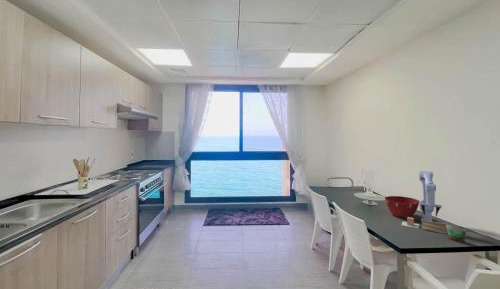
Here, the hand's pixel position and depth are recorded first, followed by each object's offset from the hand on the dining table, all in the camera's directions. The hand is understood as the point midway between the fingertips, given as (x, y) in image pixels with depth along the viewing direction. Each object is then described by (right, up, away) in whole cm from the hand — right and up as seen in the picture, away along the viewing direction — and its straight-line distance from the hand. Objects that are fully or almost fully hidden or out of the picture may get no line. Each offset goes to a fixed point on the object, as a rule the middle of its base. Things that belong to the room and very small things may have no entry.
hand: (430, 215), depth 202 cm
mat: (-13, -10, +5) cm, 17 cm away
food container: (-2, -10, -26) cm, 28 cm away
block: (-13, -9, +5) cm, 17 cm away
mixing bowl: (-4, -10, +32) cm, 34 cm away
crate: (+1, -10, -5) cm, 11 cm away
